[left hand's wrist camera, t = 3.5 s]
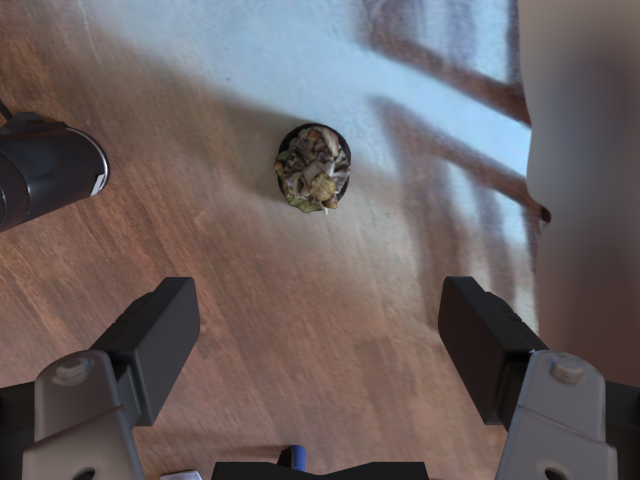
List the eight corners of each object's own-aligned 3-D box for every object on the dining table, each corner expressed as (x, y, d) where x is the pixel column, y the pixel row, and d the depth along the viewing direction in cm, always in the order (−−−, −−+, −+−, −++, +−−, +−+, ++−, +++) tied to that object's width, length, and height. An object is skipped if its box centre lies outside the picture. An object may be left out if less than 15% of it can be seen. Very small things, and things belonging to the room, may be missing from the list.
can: (309, 453, 69) (308, 475, 65) (294, 460, 70) (292, 483, 66) (297, 442, 68) (296, 464, 64) (282, 450, 68) (280, 472, 64)
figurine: (298, 108, 45) (288, 111, 31) (369, 149, 47) (390, 169, 33) (259, 187, 49) (236, 222, 35) (327, 222, 51) (330, 268, 37)
